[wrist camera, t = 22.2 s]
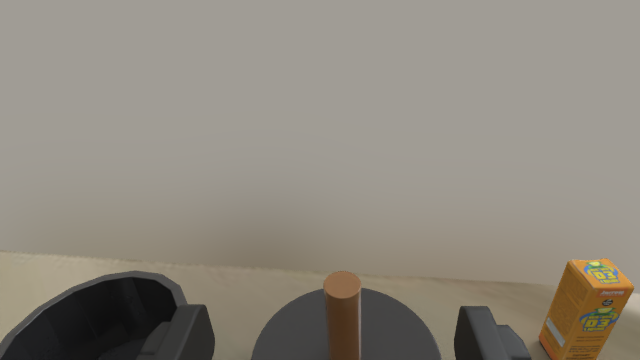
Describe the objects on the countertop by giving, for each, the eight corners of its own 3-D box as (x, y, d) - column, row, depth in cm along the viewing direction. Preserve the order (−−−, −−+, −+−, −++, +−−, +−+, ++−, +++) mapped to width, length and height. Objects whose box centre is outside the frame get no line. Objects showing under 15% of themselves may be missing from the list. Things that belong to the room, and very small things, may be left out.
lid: (313, 532, 21) (301, 450, 17) (225, 343, 32) (204, 266, 28) (485, 389, 27) (507, 304, 23) (362, 274, 39) (362, 202, 35)
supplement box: (557, 372, 32) (591, 287, 27) (537, 338, 35) (564, 256, 31) (596, 371, 32) (637, 285, 27) (572, 337, 35) (605, 254, 30)
